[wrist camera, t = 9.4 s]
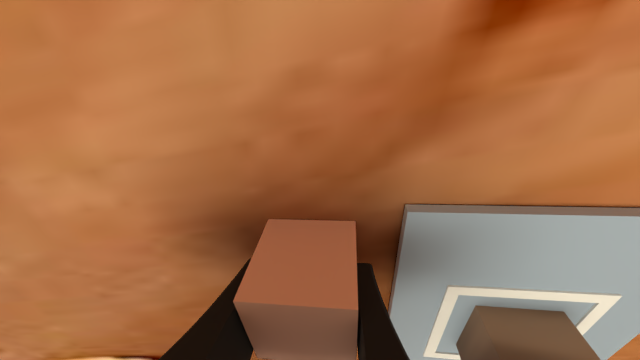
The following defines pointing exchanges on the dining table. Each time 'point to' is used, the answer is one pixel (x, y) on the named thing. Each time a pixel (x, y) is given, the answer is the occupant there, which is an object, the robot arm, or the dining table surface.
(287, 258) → the top block
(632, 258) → the board
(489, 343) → the base block
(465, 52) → the dining table surface
